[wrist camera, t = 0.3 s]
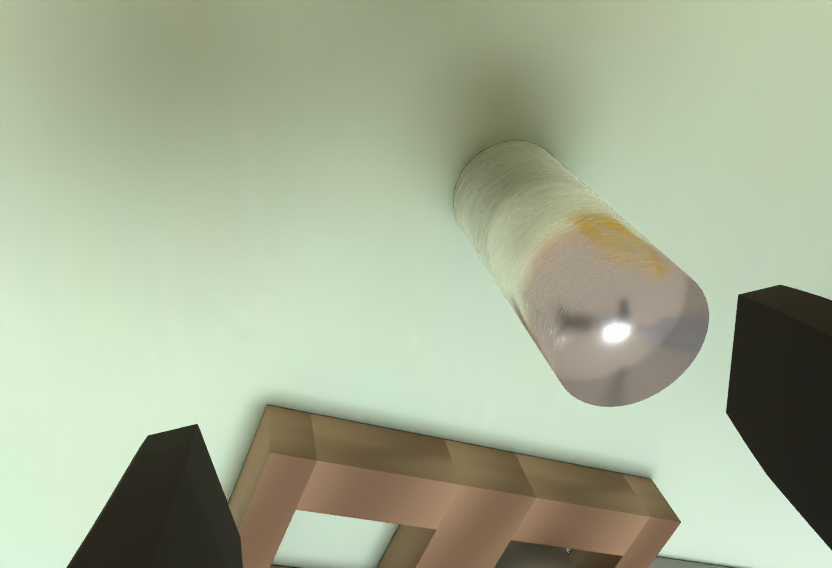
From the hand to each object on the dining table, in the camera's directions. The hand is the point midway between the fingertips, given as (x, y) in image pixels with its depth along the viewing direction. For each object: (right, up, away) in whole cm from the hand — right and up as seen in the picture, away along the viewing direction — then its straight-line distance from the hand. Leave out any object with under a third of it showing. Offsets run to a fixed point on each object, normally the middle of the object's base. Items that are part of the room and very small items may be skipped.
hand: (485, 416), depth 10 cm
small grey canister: (+2, +4, +10) cm, 10 cm away
